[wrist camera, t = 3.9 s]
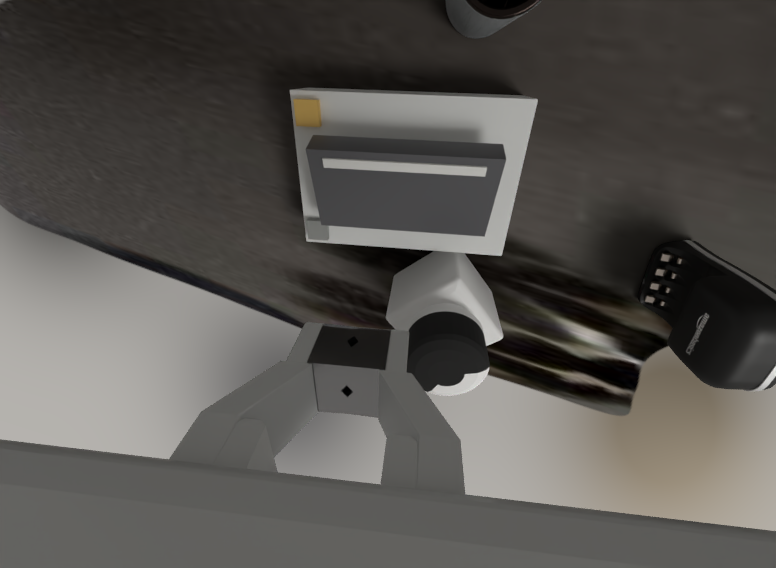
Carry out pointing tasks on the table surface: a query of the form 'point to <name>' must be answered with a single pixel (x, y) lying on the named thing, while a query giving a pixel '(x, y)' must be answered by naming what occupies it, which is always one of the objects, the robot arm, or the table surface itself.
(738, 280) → the battery charger
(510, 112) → the panel
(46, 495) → the robot arm
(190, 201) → the table surface
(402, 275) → the medicine bottle
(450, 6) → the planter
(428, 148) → the dark gray slim case
